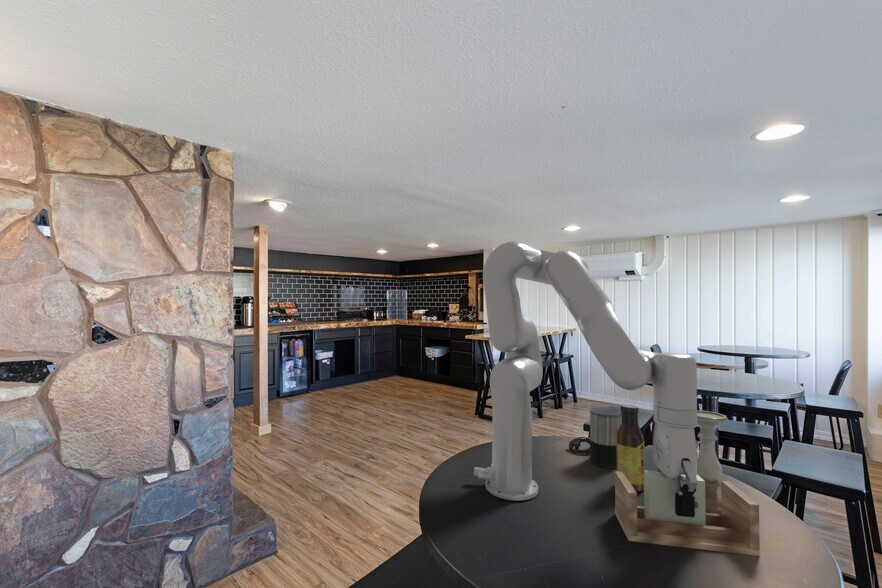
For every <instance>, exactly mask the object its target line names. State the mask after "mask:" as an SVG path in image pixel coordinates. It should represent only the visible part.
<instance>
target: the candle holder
mask: <svg viewBox="0 0 882 588" xmlns="http://www.w3.org/2000/svg"><path fill="white" fill-rule="evenodd" d="M728 421H729V418H728V417H727V415H724V414H722V413H719V412H715V411H710V410H701V409H700V410H698V409H697V426H698V427H699V429H700V431H699V433H698V434H697V438H699V440H700V442H699V444H700V446H699V452H698V454H697V475H699V476H700V477H701V478H702V479H703V480H704V481H705V512H706V513H715V514H721V493H720V492H718V490H719V488H721V481H719V479H720V478H721V477H722V476H723V467H722V465H721V463H720V461H719V459H718V456H717V454H716V442H717V441H718V439H719V438H718V437H717V435H716V433H715V431H716V430H717V428H719V426H720V425H719V424H726V423H728Z"/></svg>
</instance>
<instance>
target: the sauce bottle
mask: <svg viewBox="0 0 882 588" xmlns="http://www.w3.org/2000/svg"><path fill="white" fill-rule="evenodd" d="M620 411H621V412H622V420H621V422H622V424H621V426H620V427H619V429H618V431H617V468H616V471H617V472H623V473H624V475H625V476H626V478H627V479H628V481H629V482H630V484H631V485H632V487H633V488H634V490H635V491H636V493H638V492H642V491H644V470H646V469H645V466H646V465H645V463H646V462H645V438H644V436H643V433H642V431H641V428H640V427H641V426H640V425H639V413H640V412H639V411H640V410H639V406H637V405H634V404H628V403H627V404H626V403H625V404H621V405H620Z"/></svg>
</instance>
